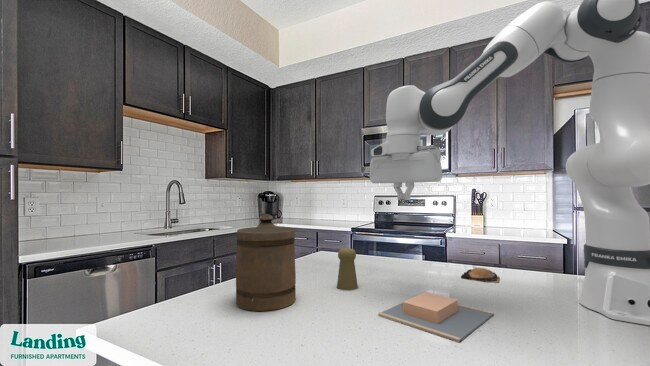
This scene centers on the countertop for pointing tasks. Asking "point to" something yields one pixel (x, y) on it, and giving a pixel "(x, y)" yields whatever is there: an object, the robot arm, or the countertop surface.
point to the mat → (450, 327)
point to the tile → (430, 307)
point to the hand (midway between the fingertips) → (403, 200)
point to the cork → (347, 270)
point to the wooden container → (265, 266)
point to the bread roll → (481, 275)
